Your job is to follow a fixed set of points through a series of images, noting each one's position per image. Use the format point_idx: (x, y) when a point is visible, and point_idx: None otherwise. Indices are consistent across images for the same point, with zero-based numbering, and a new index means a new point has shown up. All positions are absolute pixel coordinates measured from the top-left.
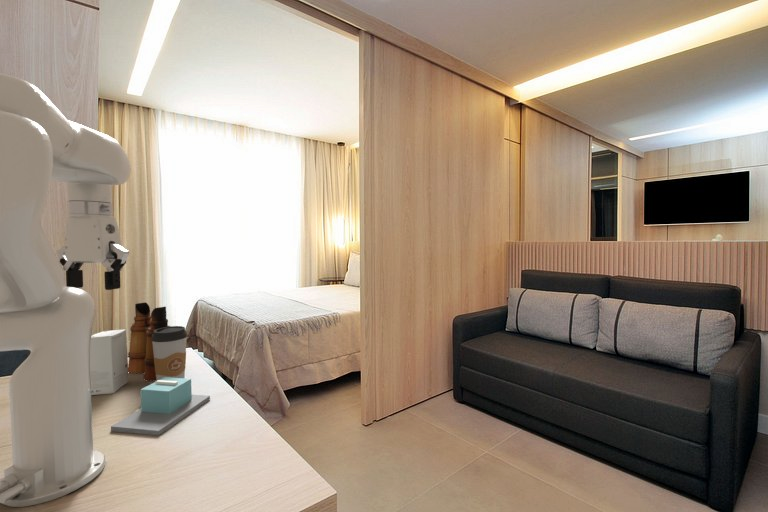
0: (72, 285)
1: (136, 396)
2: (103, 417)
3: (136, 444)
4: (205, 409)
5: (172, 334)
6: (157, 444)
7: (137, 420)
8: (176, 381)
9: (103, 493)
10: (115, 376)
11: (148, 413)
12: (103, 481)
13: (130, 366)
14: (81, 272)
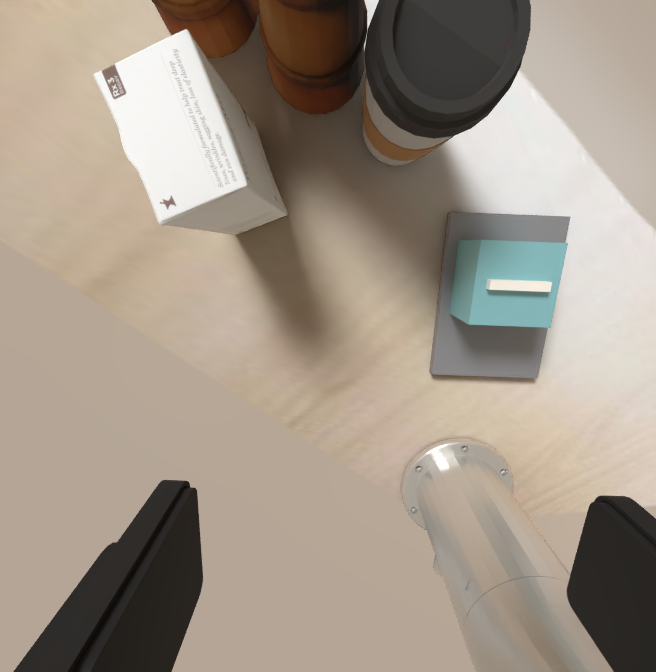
0: (193, 591)
1: (359, 221)
2: (368, 326)
3: (508, 402)
4: (574, 267)
5: (500, 93)
6: (545, 398)
7: (468, 349)
8: (549, 284)
9: (541, 498)
10: (276, 196)
11: None
12: (523, 480)
13: None
14: (103, 661)
